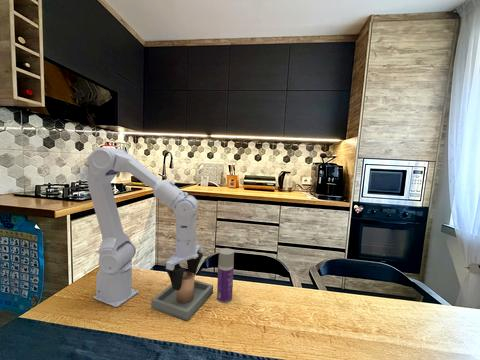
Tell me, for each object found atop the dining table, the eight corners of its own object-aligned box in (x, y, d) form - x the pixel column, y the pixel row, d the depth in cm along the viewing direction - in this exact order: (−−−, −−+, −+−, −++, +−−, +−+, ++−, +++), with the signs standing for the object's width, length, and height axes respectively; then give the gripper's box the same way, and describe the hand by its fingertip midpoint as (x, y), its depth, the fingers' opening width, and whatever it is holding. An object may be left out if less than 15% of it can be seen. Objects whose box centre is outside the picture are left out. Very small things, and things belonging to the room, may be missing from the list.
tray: (151, 308, 63) (151, 299, 63) (181, 283, 76) (181, 276, 76) (187, 321, 59) (187, 312, 58) (213, 292, 72) (213, 285, 71)
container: (229, 304, 66) (232, 255, 65) (214, 301, 67) (216, 253, 66) (233, 294, 71) (235, 249, 69) (219, 292, 72) (221, 247, 70)
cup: (186, 305, 64) (186, 282, 63) (172, 299, 66) (173, 277, 65) (197, 296, 68) (198, 274, 67) (184, 291, 70) (185, 270, 70)
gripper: (182, 249, 57) (180, 299, 58) (210, 233, 71) (208, 274, 72) (160, 244, 60) (159, 292, 61) (191, 229, 73) (189, 269, 74)
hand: (184, 282), depth 67 cm, fingers open, 7 cm apart
